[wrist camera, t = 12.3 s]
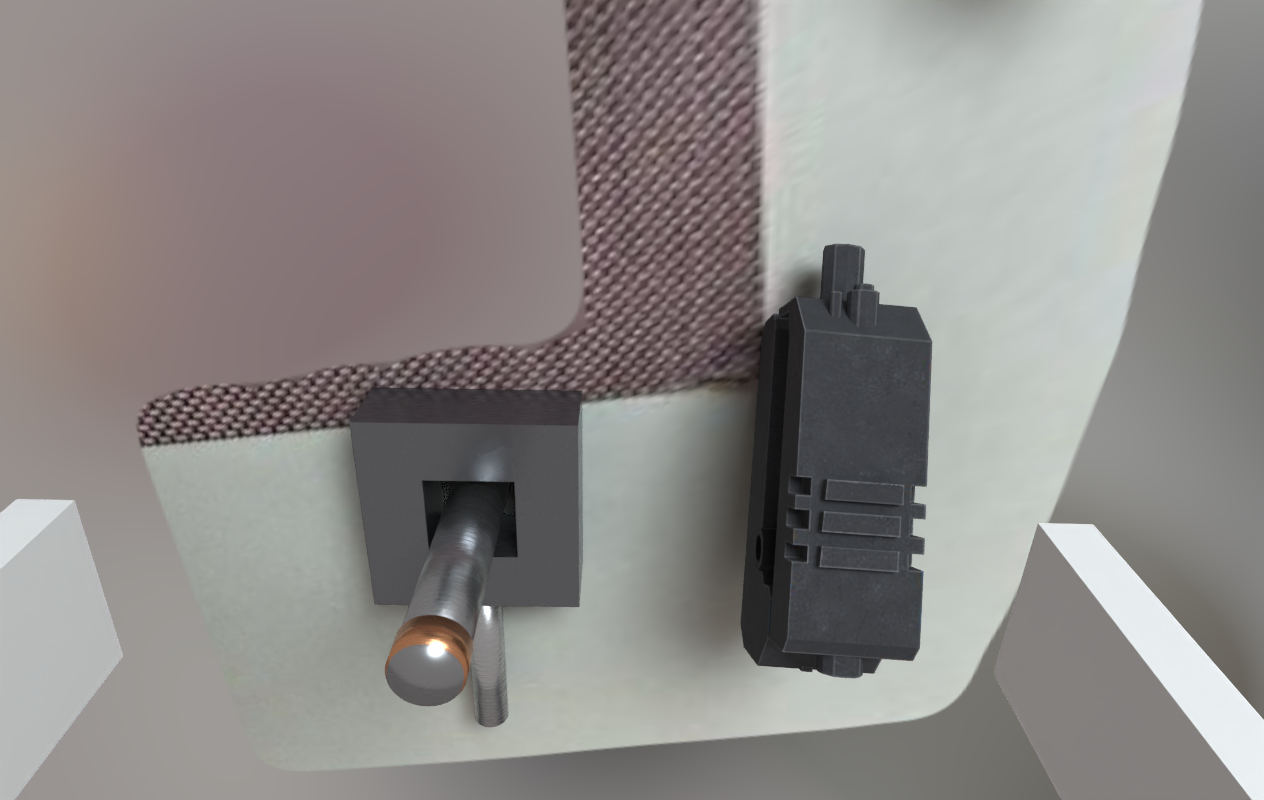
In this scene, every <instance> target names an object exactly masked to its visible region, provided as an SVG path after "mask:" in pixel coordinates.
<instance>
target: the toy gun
mask: <svg viewBox="0 0 1264 800" xmlns="http://www.w3.org/2000/svg"><path fill="white" fill-rule="evenodd" d="M864 257H865V250H864V249H863V248H862V247H861V246H856V245H850V244H833V245H828V246H825V248H824V251H823V264H822V280H821V296H820V299H817V298H806V297H795V298H794V299H792V300H791V301H790V302H788V303H787V304H786V305H784V306H783V307H782V308H780V309H779V314H775V313H774V314H773V315H772V316H771V317H770V318H769V319H768V320H767V321H766V323H765V327H764V331H763V335H762V339H761V353H760V367H759V380H758V394H757V408H756V421H755V435H754V449H753V462H752V476H751V490H750V503H749V517H748V531H747V544H746V558H745V571H744V585H743V599H742V612H741V630H742V637H743V644H744V648H745V649H746V650H747V652H748V653H749V654H750V656H751V657H752V659H753V660H754V661H755V663H756V664H757V665H758V666H771V667H785V668H799V669H800V670H801V671H805V672H812V669H814V670H817V671H818V672H820V673H822V674H826V675H829V676H833V677H841V678H858V677H861V676H862V674H863V673H873V674H874V673H875V671H876V669H877V667H878V665H879V663H880V661H881V660H882V659H891V660H906V661H913V660H914V658H915V656H916V654H917V652H918V651H919V649H920V632H921V612H922V591H923V571H921V570H919V569H916V568H913V567H911V563H912V554H922V555H924V544H925V539H924V538H921V537H917V536H914V535H913V518H915V519H925V518H926V505H924V504H919V503H914V495H915V486H923V487H927V466H928V439H929V413H930V387H931V360H932V340H931V338H930V336H929V334H928V331H927V329H926V327H925V325H924V323H923V320H922V318H921V316H920V314H919V312H918V310H917V308H915V307H904V306H893V305H883V304H879V294H880V293H879V292H877V291H874V286H873V285H871V284H863V274H864Z"/></svg>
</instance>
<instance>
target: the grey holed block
mask: <svg viewBox="0 0 1264 800" xmlns="http://www.w3.org/2000/svg"><path fill="white" fill-rule="evenodd" d="M349 423H350V430H351V437H352V445H353V452H354V459H355V466H356V473H357V481H358V488H359V495H360V502H361V509H362V517H363V524H364V531H365V538H366V545H367V553H368V560H369V567H370V574H371V582H372V589H373V596H374V603H375V604H384V605H410V602H411V600H412V597H413V594H414V591H415V588H416V585H417V583H418V580H419V577H420V574H421V571H422V569H423V566H424V563H425V560H426V557H427V555H428V552H429V549H430V546H431V543H432V540H433V538H434V535H435V532H436V529H437V526H438V524H439V521H440V518H441V515H442V512H443V510H444V503H443V492H442V481H493V482H514V484H515V507H516V515H503V517H502V521H501V525H500V529H499V534H498V538H497V542H496V546H495V551H494V555H493V559H492V563H491V568H490V572H489V576H488V580H487V585H486V589H485V593H484V597H483V601H482V606H481V610H480V614H479V618H478V623H477V627H476V631H475V635H474V640H473V654H472V659H471V669H472V682H473V694H474V707H475V718H476V721H477V722H478V723H479V724H480V725H482V726H485V727H495V726H498V725H500V724H502V723H503V722H504V721H505V720H506V719H507V717H508V698H507V680H506V663H505V645H504V627H503V609H502V606H546V607H579V604H580V591H581V577H582V564H583V524H582V391H548V390H488V389H429V388H372V389H371V390H370V392H369V393H368V395H367V396H366V398H365V399H364V401H363V402H362V404H361V405H360V407H359V408H358V410H357V411H356V413H355V414H354V416H353V417H352V419H351V420H350V422H349Z"/></svg>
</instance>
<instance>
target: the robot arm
mask: <svg viewBox="0 0 1264 800" xmlns="http://www.w3.org/2000/svg"><path fill="white" fill-rule="evenodd" d="M122 657H123V654H122V650H121V648H120V644H119V641H118V637H117V634H116V631H115V628H114V625H113V622H112V618H111V615H110V612H109V609H108V606H107V603H106V599H105V596H104V593H103V590H102V587H101V583H100V580H99V577H98V574H97V570H96V567H95V564H94V561H93V558H92V555H91V551H90V548H89V545H88V542H87V539H86V535H85V532H84V529H83V526H82V522H81V519H80V516H79V513H78V510H77V506H76V503H75V501H74V500H37V499H16V500H15V501H14V502H13V503H12V504H10V505H9V506H8V507H7V508H6V509H4V510H3V511H2V512H1V513H0V800H15V799H16V798H17V796H18V795H19V794H20V792H21V791H22V790H23V788H24V787H25V786H26V784H27V783H28V782H29V780H30V779H31V778H32V776H33V775H34V774H35V772H36V771H37V770H38V768H39V767H40V766H41V764H42V763H43V762H44V760H45V759H46V758H47V756H48V755H49V754H50V752H51V751H52V750H53V748H54V747H55V746H56V744H57V743H58V742H59V741H60V739H61V738H62V736H63V735H64V734H65V733H66V731H67V730H68V729H69V727H70V726H71V725H72V723H73V722H74V720H75V719H76V718H77V717H78V715H79V714H80V712H81V711H82V710H83V709H84V707H85V706H86V705H87V703H88V702H89V701H90V699H91V698H92V697H93V695H94V694H95V693H96V691H97V690H98V689H99V687H100V686H101V685H102V683H103V682H104V681H105V679H106V678H107V677H108V675H109V674H110V673H111V671H112V670H113V669H114V667H115V666H116V665H117V663H118V662H119V661H120V659H121V658H122ZM993 674H994V675H995V677H996V679H997V681H998V683H999V685H1000V687H1001V689H1002V690H1003V692H1004V694H1005V696H1006V698H1007V699H1008V702H1009V703H1010V705H1011V707H1012V708H1013V711H1014V713H1015V714H1016V716H1017V718H1018V720H1019V722H1020V724H1021V726H1022V728H1023V729H1024V731H1025V733H1026V735H1027V736H1028V739H1029V741H1030V743H1031V744H1032V746H1033V748H1034V750H1035V752H1036V754H1037V756H1038V757H1039V759H1040V761H1041V763H1042V765H1043V767H1044V769H1045V770H1046V772H1047V774H1048V776H1049V778H1050V780H1051V782H1052V783H1053V785H1054V787H1055V789H1056V791H1057V793H1058V795H1059V796H1060V798H1061V800H1264V720H1263V719H1262V718H1261V716H1260V715H1259V714H1258V713H1257V712H1256V711H1255V710H1254V708H1253V707H1252V706H1251V705H1250V704H1249V703H1248V702H1247V700H1246V699H1245V698H1244V697H1243V696H1242V695H1241V694H1240V692H1239V691H1238V690H1237V689H1236V688H1235V687H1234V685H1233V684H1232V683H1231V682H1230V681H1229V680H1228V679H1227V677H1225V675H1224V674H1223V673H1222V672H1221V671H1220V669H1219V668H1218V667H1217V666H1216V665H1215V664H1214V663H1213V662H1212V660H1211V659H1210V658H1209V657H1208V656H1207V655H1206V653H1205V652H1204V651H1203V650H1202V649H1201V648H1200V647H1199V645H1198V644H1197V643H1196V642H1195V641H1194V640H1193V639H1192V637H1191V636H1189V634H1188V633H1187V632H1186V630H1185V629H1184V628H1183V627H1182V626H1181V625H1180V624H1179V622H1178V621H1177V620H1176V619H1175V618H1174V617H1173V616H1172V614H1171V613H1170V612H1169V611H1168V610H1167V609H1166V608H1165V606H1164V605H1163V604H1162V603H1161V602H1160V601H1159V600H1158V598H1157V597H1156V596H1155V595H1154V594H1153V593H1152V591H1151V590H1150V589H1149V588H1148V587H1147V586H1146V585H1145V584H1144V582H1143V581H1142V580H1141V579H1140V578H1139V577H1138V575H1137V574H1136V573H1135V572H1134V571H1133V570H1132V569H1131V567H1130V566H1129V565H1128V564H1127V563H1126V562H1125V561H1124V559H1123V558H1122V557H1121V556H1120V555H1119V554H1118V553H1117V551H1116V550H1115V549H1114V548H1113V547H1112V546H1111V545H1110V543H1109V542H1108V541H1107V540H1106V539H1105V538H1104V537H1103V535H1102V534H1101V533H1100V532H1099V531H1098V530H1097V528H1096V527H1095V526H1094V525H1091V524H1051V523H1038V526H1037V529H1036V532H1035V536H1034V539H1033V542H1032V546H1031V549H1030V552H1029V556H1028V559H1027V562H1026V566H1025V569H1024V572H1023V576H1022V579H1021V582H1020V586H1019V589H1018V592H1017V596H1016V599H1015V602H1014V606H1013V609H1012V612H1011V616H1010V619H1009V623H1008V626H1007V629H1006V632H1005V636H1004V639H1003V642H1002V646H1001V649H1000V652H999V656H998V659H997V663H996V666H995V669H994V672H993Z"/></svg>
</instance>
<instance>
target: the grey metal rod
mask: <svg viewBox="0 0 1264 800" xmlns="http://www.w3.org/2000/svg"><path fill="white" fill-rule="evenodd" d="M509 487H510V482H493V481H453V484H452V487H451V490H450V493H449V495H448V498H447V501H446V504H445V507H444V510H443V512H442V515H441V518H440V521H439V524H438V526H437V529H436V532H435V535H434V538H433V540H432V543H431V546H430V549H429V552H428V555H427V557H426V560H425V563H424V566H423V569H422V571H421V574H420V577H419V580H418V583H417V585H416V588H415V591H414V594H413V597H412V600H411V602H410V605H409V608H408V611H407V614H406V616H405V619H404V622H403V625H402V626H401V627H400V629H399V630H398V632H397V634H396V637H395V640H394V643H393V645H392V648H391V651H390V654H389V656H388V659H387V662H386V665H385V675H386V679H387V682H388V684H389V686H390V688H391V689H392V691H393V692H394V693H395V694H396V695H397V696H399V697H400V698H402V699H403V700H405V701H407V702H409V703H412V704H416V705H420V706H437V705H441V704H444V703H447V702H449V701H451V700H452V699H454V698H455V697H456V696H457V695H458V694H459V693H460V692H461V691H462V690H463V688H464V686H465V684H466V680H467V676H468V672H469V667H470V663H471V659H472V654H473V640H474V635H475V631H476V627H477V623H478V618H479V614H480V610H481V606H482V601H483V597H484V593H485V589H486V585H487V580H488V576H489V572H490V568H491V563H492V559H493V555H494V551H495V546H496V542H497V538H498V534H499V529H500V525H501V521H502V517H503V512H504V508H505V504H506V500H507V496H508V491H509Z"/></svg>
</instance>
